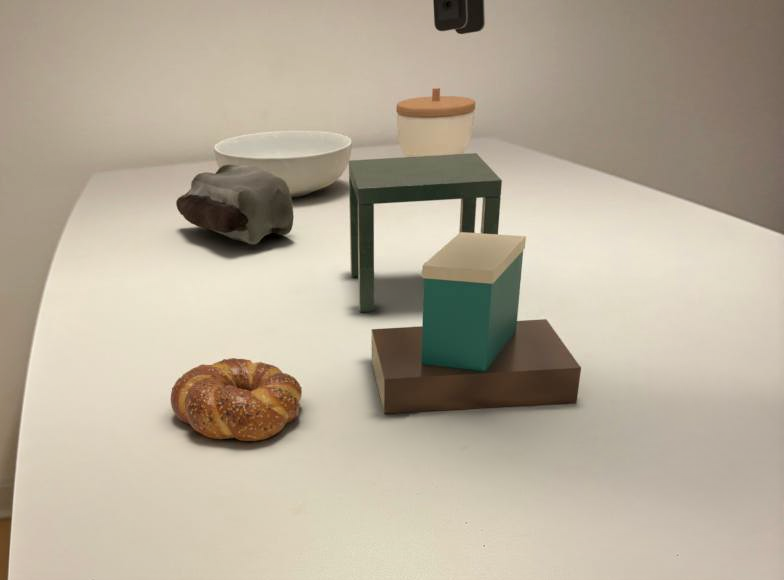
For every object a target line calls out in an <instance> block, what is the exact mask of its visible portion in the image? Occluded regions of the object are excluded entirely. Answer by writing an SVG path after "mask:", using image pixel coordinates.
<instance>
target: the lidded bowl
mask: <svg viewBox="0 0 784 580" xmlns="http://www.w3.org/2000/svg"><path fill="white" fill-rule="evenodd" d="M431 89H432V91H431V92H432V93H431V96H422V97H421V96H420V97H413V98H408V99H404V100H401V101H399V102H397V104H396V108H395V109H396V114H397V115H396V126H397V127H396V129H397V136H398V141H399V145H400V148H401V150H402V153H403V154H404V156H405V157H419V156H436V155H453V154H465V151H466V150H467V148H468V146H469V143H470V141H471V137H472V133H473V127H474V120H475V110H476V101H475V99H473V98H470V97H467V96H465V97H464V96H455V95H454V96H453V95H450V96H449V95H441V87H433V88H431Z"/></svg>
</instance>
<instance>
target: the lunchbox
mask: <svg viewBox="0 0 784 580" xmlns="http://www.w3.org/2000/svg"><path fill="white" fill-rule="evenodd" d="M526 241H527V236H526V235H512V234H499V233H498V234H482V233H481V232H475V233H466V232H460V233H459V232H458V234H456V236H454V237H453V238H452V239H451V240H449V242H447V243H446V244H445V245H444V246H443V247H441V249H440V250H438V251H437V252H436V253H435V254H434V255H433V256H431V257H430V258H429V259H428V260H427V261H426V262H424V263H423V265H422V267H421V269H422V270H421V271H422V272H421V278H422V279H423V292H422V294H423V295H422V324H421V326H422V357H421V364H425V365H433V366H442V367H451V368H459V369H468V370H477V371H486V370H487V369H488V368H489V366H490V365H491V364H492V362H493V361H494V360H495V358H496V357H497V356H498V354H499V353H500V352H501V350H502V349H503V348H504V346H505V345H506V344H507V342H508V341H509V340H510V338H511V337H512V336H513V334H514V333H515V332H516V327H517V321H518V314H519V305H520V293H521V292H520V291H521V281H522V269H523V268H522V267H523V258H524V250H525V249H526V243H527V242H526Z"/></svg>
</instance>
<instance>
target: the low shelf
mask: <svg viewBox="0 0 784 580" xmlns="http://www.w3.org/2000/svg"><path fill="white" fill-rule="evenodd" d="M421 357H422V325H419V326H405V327H404V326H403V327H388V328H387V327H386V328H385V327H383V328H372V329H371V364H372V368H373V373H374V377H375V380H376V385H377V388H378V394H379V397H380V401H381V406H382V410H383V413H384V414H399V413H400V414H401V413H418V412H420V413H421V412H434V411H436V412H437V411H452V410H453V411H454V410H470V409H471V410H472V409H488V408H504V407H507V408H508V407H521V406H522V407H523V406H525V407H526V406H541V405H542V406H543V405H556V404H557V405H558V404H559V405H560V404H576V403H577V401H578V394H579V387H580V380H581V372H582V367H581V365H580V364H579V363H578V361H577V360H576V358H575V357H574V355H573V354H572V353H571V351H570V350H569V349H568V347H567V346H566V345H565V343H564V342H563V341H562V339H561V337H560V336H559V335H558V334H557V332H556V330H555V329H554V328H553V325H552V324H551V323H550V322H549V321H548V319H547V318H545V319H544V318H543V319H542V318H541V319H527V320H525V319H523V320H517V327H516V332H515V333H514V334H513V336H512V337H511V338H510V340H509V341H508V342H507V344H506V345H505V346H504V348H503V349H502V350H501V352H500V353H499V354H498V356H497V357H496V358H495V360H494V361H493V362H492V364H491V365H490V366H489V368H488V369H487V370H486V371H477V370H468V369H459V368H451V367H442V366H433V365H425V364H421Z"/></svg>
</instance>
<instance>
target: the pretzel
mask: <svg viewBox="0 0 784 580" xmlns="http://www.w3.org/2000/svg"><path fill="white" fill-rule="evenodd" d="M302 389H303V388H302V386H301V384H300V383H299V381H298V380H297V378H295V377H294V376H292V375H290V374H289V373H285V372H283V371H282V370H281V369H280V368H279V367H277V366H276V365H274V364H269V363H266V362H262V361H259V362H257V361H256V362H252V360H251V359H245V358H235V357H232V358H231V357H230V358H224V359H222V360H220V361H217V362H214V363H212V364H200V365H198V366H195V367H193V368H191V369H190V370H188V371H186V372H185V373H183V374H182V376H180V377H178V378H177V379H176V382H175V383H174V384H173V387H171V392H170V406H171V409H172V411H173V413H174V415H175V416H176V417H177V418H178V419H179V420H180V421H181V422H183V423H186V424H188V425H190V426H191V427H192V429H193V430H194V431H196V432H197V433H199V434H201V435H203V436H204V437H207V438H210V439H215V440H225V439H226V440H228V439H234V438H235V439H237V440H239V441H241V442H255V441H261V440H266V439H268V438H271V437H273V436H274V435H277V434H278V433H280V432H281V431H282V430H283V429H284V428H285V426H286V424H288V423H290V422H292V421H294V420H295V419H296V418H297V417H298V416H299V413H300V410H301V408H300V407H301V403H300V401H301V399H302V393H303V390H302Z"/></svg>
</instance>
